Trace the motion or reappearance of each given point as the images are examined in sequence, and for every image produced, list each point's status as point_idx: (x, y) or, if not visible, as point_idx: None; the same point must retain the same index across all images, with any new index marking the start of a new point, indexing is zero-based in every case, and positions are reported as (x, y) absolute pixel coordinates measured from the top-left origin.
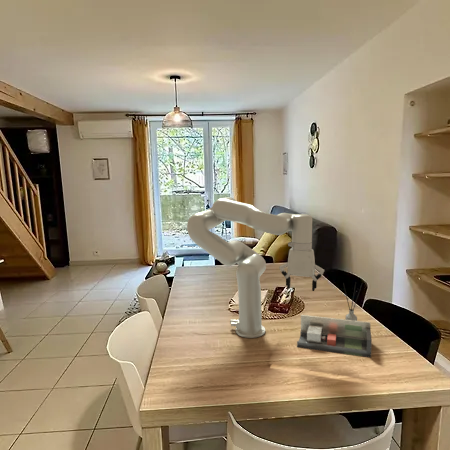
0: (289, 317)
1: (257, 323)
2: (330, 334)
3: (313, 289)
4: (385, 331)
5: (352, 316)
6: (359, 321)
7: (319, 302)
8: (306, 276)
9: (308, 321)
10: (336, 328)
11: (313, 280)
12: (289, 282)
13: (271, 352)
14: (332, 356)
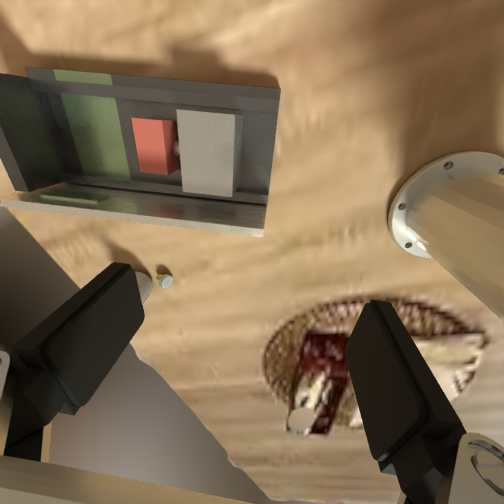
0: (301, 310)
1: (453, 195)
2: (158, 168)
3: (108, 269)
4: (63, 264)
5: None
6: (34, 206)
7: (229, 378)
8: (27, 461)
9: (234, 217)
10: (139, 200)
11: (37, 372)
12: (383, 368)
13: (385, 37)
14: (154, 68)
